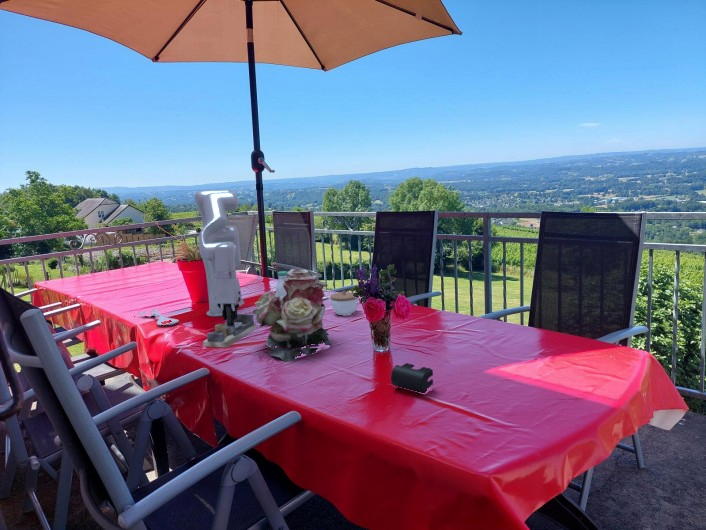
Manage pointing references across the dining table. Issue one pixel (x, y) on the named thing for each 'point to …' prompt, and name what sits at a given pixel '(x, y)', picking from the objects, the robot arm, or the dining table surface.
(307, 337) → the rose bouquet
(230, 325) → the ram
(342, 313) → the lidded bowl
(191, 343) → the dining table surface
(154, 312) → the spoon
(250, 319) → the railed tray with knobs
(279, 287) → the milk bottle
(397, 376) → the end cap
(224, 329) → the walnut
